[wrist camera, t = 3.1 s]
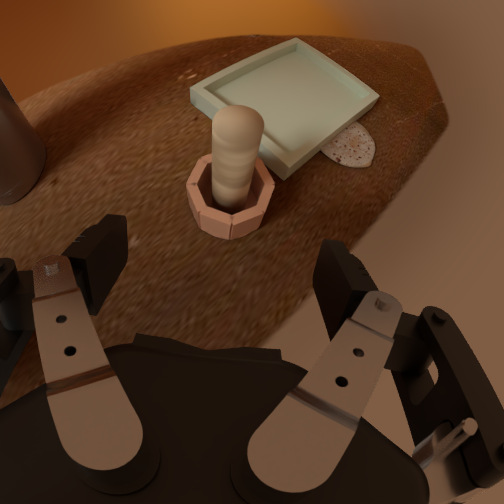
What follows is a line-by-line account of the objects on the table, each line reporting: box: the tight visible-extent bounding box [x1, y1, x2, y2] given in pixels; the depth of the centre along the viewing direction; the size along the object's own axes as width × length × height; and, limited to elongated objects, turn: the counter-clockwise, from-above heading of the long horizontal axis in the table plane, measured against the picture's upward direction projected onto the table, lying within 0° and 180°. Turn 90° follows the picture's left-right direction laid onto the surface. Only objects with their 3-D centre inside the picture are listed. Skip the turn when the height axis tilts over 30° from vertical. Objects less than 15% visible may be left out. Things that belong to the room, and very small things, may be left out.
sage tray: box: [190, 38, 380, 181], centre depth 31 cm, size 18×14×2 cm
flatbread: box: [320, 121, 375, 168], centre depth 31 cm, size 8×8×1 cm
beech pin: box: [212, 105, 264, 215], centre depth 21 cm, size 3×3×11 cm
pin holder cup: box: [186, 154, 275, 240], centre depth 25 cm, size 7×7×4 cm
